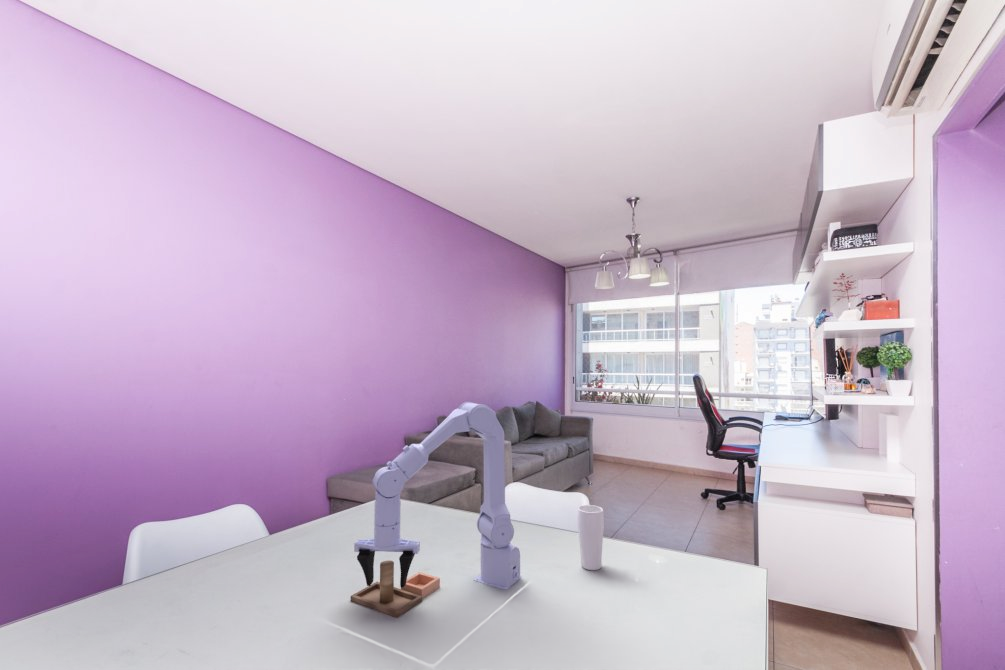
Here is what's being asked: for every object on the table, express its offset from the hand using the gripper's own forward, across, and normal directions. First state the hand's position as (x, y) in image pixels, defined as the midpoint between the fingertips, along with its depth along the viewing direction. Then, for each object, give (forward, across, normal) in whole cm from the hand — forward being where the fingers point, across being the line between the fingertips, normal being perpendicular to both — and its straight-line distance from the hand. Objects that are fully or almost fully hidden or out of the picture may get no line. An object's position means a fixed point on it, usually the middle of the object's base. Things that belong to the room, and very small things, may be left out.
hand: (386, 584), depth 104 cm
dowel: (+3, 0, 0) cm, 3 cm away
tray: (+4, 0, 0) cm, 4 cm away
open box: (+4, -6, -6) cm, 9 cm away
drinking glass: (+4, -48, -23) cm, 53 cm away
